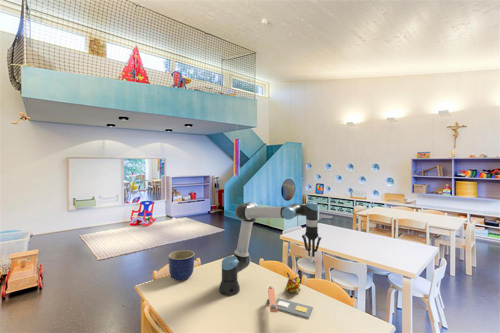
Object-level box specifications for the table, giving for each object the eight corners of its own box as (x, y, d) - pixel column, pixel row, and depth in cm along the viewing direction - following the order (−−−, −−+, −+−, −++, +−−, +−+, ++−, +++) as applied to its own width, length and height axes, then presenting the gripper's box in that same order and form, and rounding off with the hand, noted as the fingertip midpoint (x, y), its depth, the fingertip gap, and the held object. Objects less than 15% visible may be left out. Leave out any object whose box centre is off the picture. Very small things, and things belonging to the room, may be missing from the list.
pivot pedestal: (265, 303, 166) (265, 301, 166) (268, 299, 171) (268, 298, 171) (272, 305, 164) (272, 303, 164) (275, 301, 168) (275, 299, 168)
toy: (300, 294, 174) (290, 274, 177) (288, 298, 177) (278, 278, 180) (304, 286, 186) (294, 267, 189) (293, 290, 190) (284, 271, 193)
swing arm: (267, 299, 168) (267, 285, 168) (273, 299, 168) (273, 285, 168) (270, 323, 143) (270, 307, 143) (277, 323, 143) (277, 307, 143)
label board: (271, 308, 160) (271, 306, 160) (277, 299, 171) (277, 297, 171) (308, 318, 150) (308, 316, 150) (312, 308, 161) (312, 306, 161)
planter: (162, 279, 199) (162, 255, 199) (182, 270, 217) (182, 248, 216) (180, 286, 188) (180, 261, 188) (199, 275, 206) (199, 253, 206)
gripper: (300, 225, 163) (300, 261, 163) (320, 228, 157) (320, 265, 158) (303, 223, 170) (303, 257, 170) (322, 225, 164) (322, 261, 164)
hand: (311, 261), depth 164 cm, fingers closed
